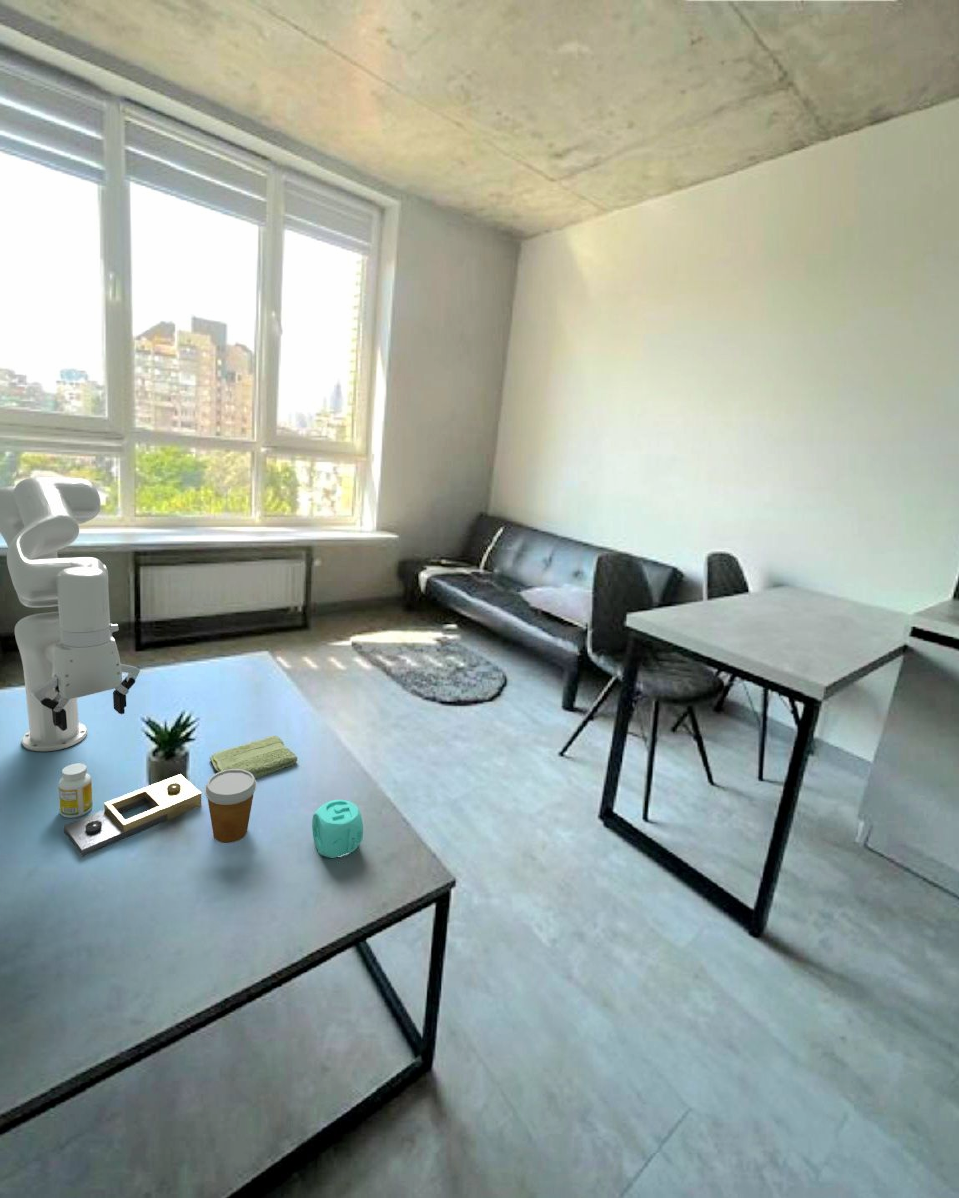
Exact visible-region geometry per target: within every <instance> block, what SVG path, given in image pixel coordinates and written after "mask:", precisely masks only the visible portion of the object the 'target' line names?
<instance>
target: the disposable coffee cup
mask: <svg viewBox="0 0 959 1198" xmlns="http://www.w3.org/2000/svg"><path fill="white" fill-rule="evenodd" d="M206 782H207V783H206V785H205V786H204V790H203V791H204V796H206V798H207V803H208V804H207V805H208V808H209V816H210V817H209V818H210V821H211V828H212V833H213V836H212V837H213V838H214V840H215V841H217V842H219V843H221V844H222V843H223V844H231V843H236V842H238V841H240V840H242V839H243V838H244V837H245V836H246V835H247V832H248V829H249V823H250V819H251V817H250V816H251V811H252V805H253V798H254V794H255V792H256V790H257V788H258V781H257V780H256V778H254V776H253V774H252V773H250V772H249V771H246V770H242V769H228V770H224V771H221V772H218V771H217V773H214V774H213V775H212V776H210V778H208V779H207V781H206Z"/></svg>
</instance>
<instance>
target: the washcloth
mask: <svg viewBox="0 0 959 1198" xmlns="http://www.w3.org/2000/svg"><path fill="white" fill-rule="evenodd" d="M209 760H210V761H211V763H212V765H213V767H214V769H215V770H216V772H217V773H218V772H221V771H224V770H228V769H242V770H246V771H249V772H250V773H252V774H253V776H254V778H255V779H256V778H260V777H263V776H266V775H269V774H271V773H274V772H278V771H280V770H283V769H285V768H284V767H287V768H288V767H291V766H290V765H292V766H294V765H295V764H296V763H297V762H298V757H297V755H296V754H294V753H293V752H292V751H291V750H290V749H289V748H288V747H286V746H285V744H284V742H283V740H282V739H281V737H279V736H277V735H270V736H267V737H265V738H263V739H260V740H254V741H251V742H248V743H245V744H242V745H239V746H235V747H230V748H227V749H222V750H220V751H217V752H216V753H213V755H210V757H209ZM294 763H295V764H294ZM282 768H283V769H282ZM279 769H280V770H279ZM277 770H278V771H277Z"/></svg>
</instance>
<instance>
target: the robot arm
mask: <svg viewBox="0 0 959 1198" xmlns="http://www.w3.org/2000/svg"><path fill="white" fill-rule="evenodd" d="M100 509H101V497H100V493H99V491H98V490H97V488H96V486H95V485H94V484H93V483H92V482H91V481H90V480H87V479H84V478H77V477H52V476H51V477H49V476H34V477H28V478H25V479H22V480H20V481H19V482H18V483H17V484H16V485H12V486H11V485H10V486H2V487H0V535H1V536H2V538H3V539H4V541H5V543H6V545H7V547H8V548H7V553H6V565H7V568H8V572H9V575H10V578H11V582H12V585H13V589H14V590H15V591H16V595H17V597H18V600H19V602H20V603H21V604H22V605H23V606H25V607H27V608H33V609H34V608H50V607H58V611H50V612H43V613H34V614H31V615H28V616H25V617H23V618H21V619H20V620H19V621H17V623H16V624H15V626H14V636H15V642H16V645H17V648H18V650H19V651H18V652H19V654H20V659H21V664H22V669H23V678H24V686H25V687H24V688H25V698H26V707H27V709H26V710H27V719H28V727H29V728H28V729H29V730H28V731H27V732H26V733H25V734H24V735H22V738H21V744H22V746H23V747H24V748H25V749H27V750H29V751H34V752H51V751H52V752H53V751H58V750H63V749H66V748H70V747H73V746H74V745H77V744H79V743H80V742H82V741H83V740H84V739H85V738H87V737H86V736H87V735H88V728H87V726H86V725H85V724H83V723H82V722H80V721H79V720H80V719H79V708H78V707H79V706H78V699H79V698H83V697H87V696H90V695H96V694H99V693H103V692H106V691H111V690H113V692H112V699H113V701H112V703H113V710H114V711H116V712H117V713H118V714H120V715H123V714H125V710H126V709H125V708H126V707H127V694H129V691H130V689H131V688H132V687H133V686H134V684H135V683H136V679H137V677H138V676H139V674H140V672H141V670H140V668H138V667H137V666H134V665H130V664H129V665H128V664H126V663H125V664H124V663H121V659H120V653H119V650H118V645H117V643H116V639H115V638H114V637H113V633H114V632H118V631H119V630H120V629H119V624H117V623H114V624H113V623H111V616H110V615H111V613H110V612H111V609H110V596H109V595H110V593H109V571H108V568H107V566H106V565H105V564H104V563H103V562H102V561H101V560H100V559H98V558H96V557H92V556H80V557H79V556H78V557H75V556H74V557H59V556H58V551H59V550H61V549H65V548H66V547H68V546H70V545H72V544H73V543H74V542H75V541H76V539H77V538H78V536H79V534H80V526H79V525H82V524H85V523H87V522H89V521H91V520H94V519H95V518H96V517H97V516H98V514H100V513H99V512H100ZM123 673H127V676H125V678H124V679H123Z"/></svg>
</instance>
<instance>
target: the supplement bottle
mask: <svg viewBox="0 0 959 1198" xmlns="http://www.w3.org/2000/svg"><path fill="white" fill-rule="evenodd" d="M87 772H88V768H87V765H86V764H84V763H79V762H78V763H77V762H76V763H72V764H69V765H66V766H65V767H63V768H62V770H61V777H62V778H60V779H59V781H58V796H59V797H58V798H59V812H60V815H61V816H62V817H64V818H67V819H69V818H70V819H71V818H72V819H73V818H74V819H75V818H79V817H81V816H84V815H86V814H87V813H89V812H90V811H91V810H92V808H93V791H92V790H93V788H92V776H91V775H90V774H89V773H87Z"/></svg>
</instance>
